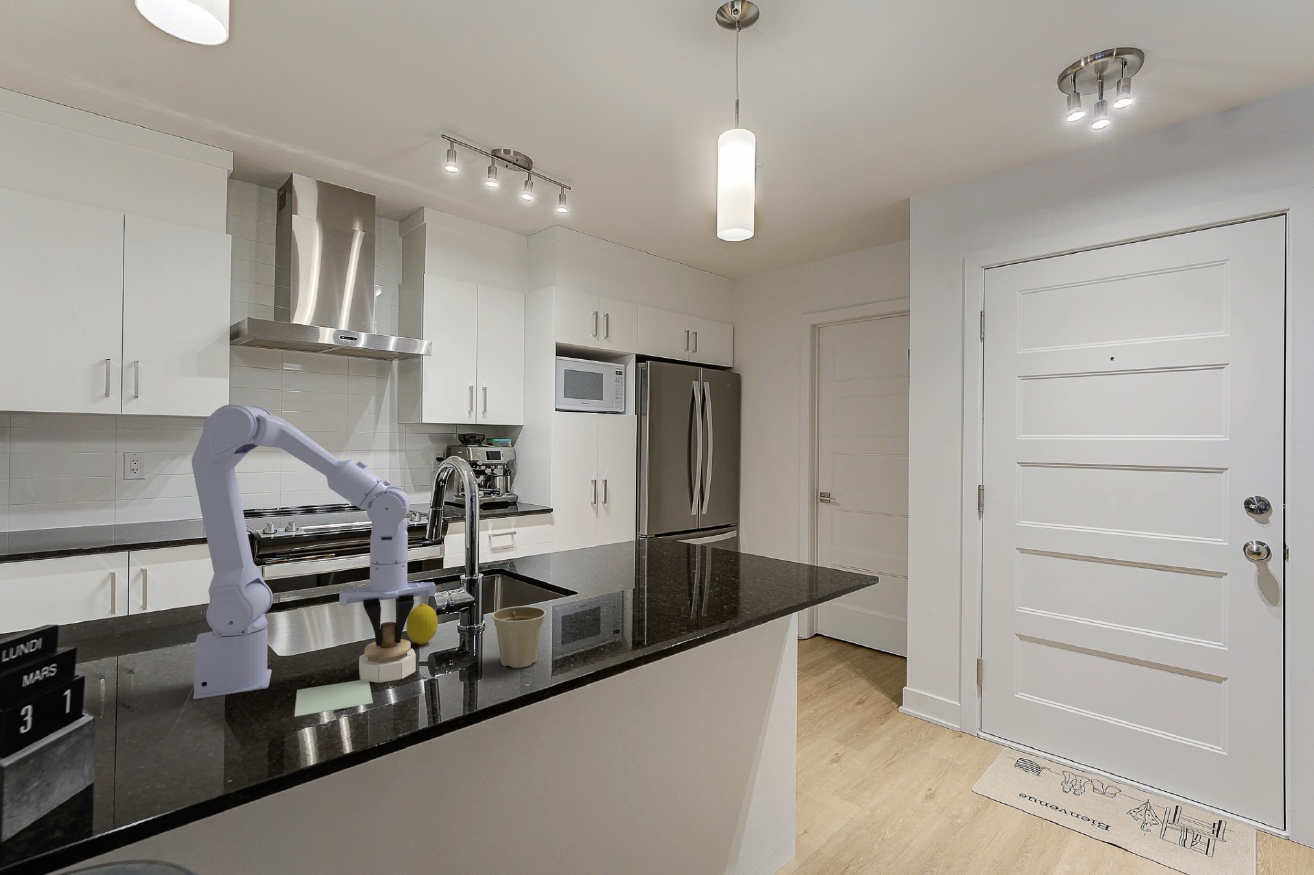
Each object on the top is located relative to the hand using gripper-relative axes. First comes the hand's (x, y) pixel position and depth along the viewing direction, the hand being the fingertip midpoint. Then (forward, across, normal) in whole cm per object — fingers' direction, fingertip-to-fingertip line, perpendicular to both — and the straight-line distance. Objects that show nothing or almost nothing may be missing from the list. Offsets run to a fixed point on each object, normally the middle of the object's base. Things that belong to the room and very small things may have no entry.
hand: (387, 642), depth 104 cm
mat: (+5, -8, -7) cm, 12 cm away
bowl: (+5, 0, 0) cm, 5 cm away
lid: (+1, 0, 0) cm, 1 cm away
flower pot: (+5, +21, -4) cm, 22 cm away
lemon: (+5, +7, +12) cm, 15 cm away
